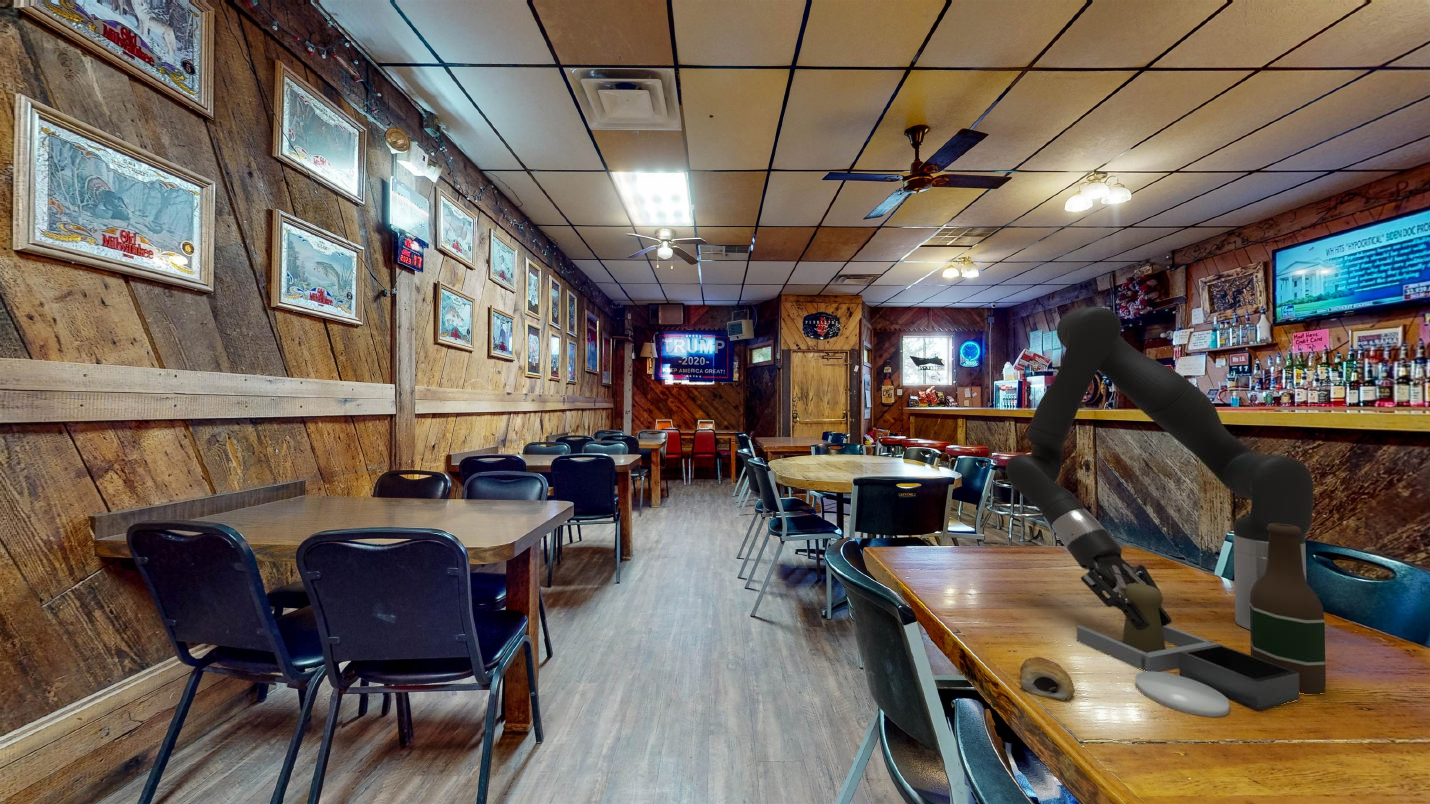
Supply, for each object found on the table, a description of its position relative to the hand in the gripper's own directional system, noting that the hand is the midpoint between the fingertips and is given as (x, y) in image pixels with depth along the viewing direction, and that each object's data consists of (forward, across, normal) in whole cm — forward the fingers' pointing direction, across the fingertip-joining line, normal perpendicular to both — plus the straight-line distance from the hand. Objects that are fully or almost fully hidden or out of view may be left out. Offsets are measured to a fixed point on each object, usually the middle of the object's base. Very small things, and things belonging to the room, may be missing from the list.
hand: (1155, 625), depth 86 cm
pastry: (+5, -27, +2) cm, 28 cm away
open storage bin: (+11, 0, -4) cm, 12 cm away
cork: (+2, 0, +5) cm, 5 cm away
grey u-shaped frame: (+2, 0, +5) cm, 5 cm away
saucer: (+11, -11, -4) cm, 16 cm away
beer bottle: (+12, +9, -5) cm, 16 cm away
